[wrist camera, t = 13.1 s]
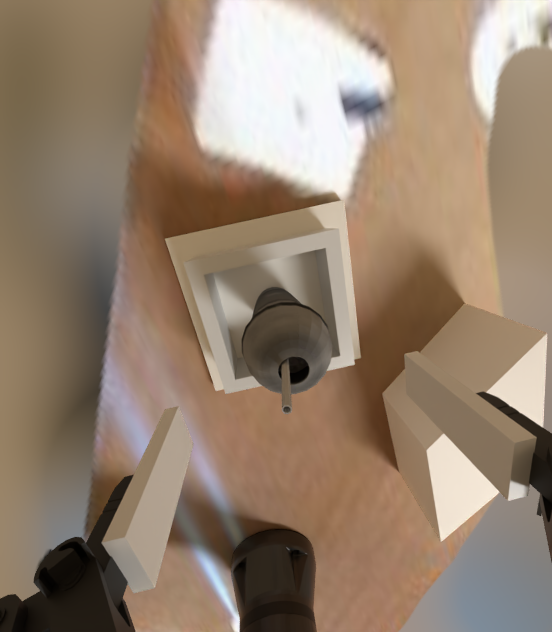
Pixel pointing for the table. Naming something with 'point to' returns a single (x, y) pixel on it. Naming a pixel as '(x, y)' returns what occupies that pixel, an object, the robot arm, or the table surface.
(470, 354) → the block
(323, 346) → the beverage cup
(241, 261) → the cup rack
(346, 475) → the table surface
